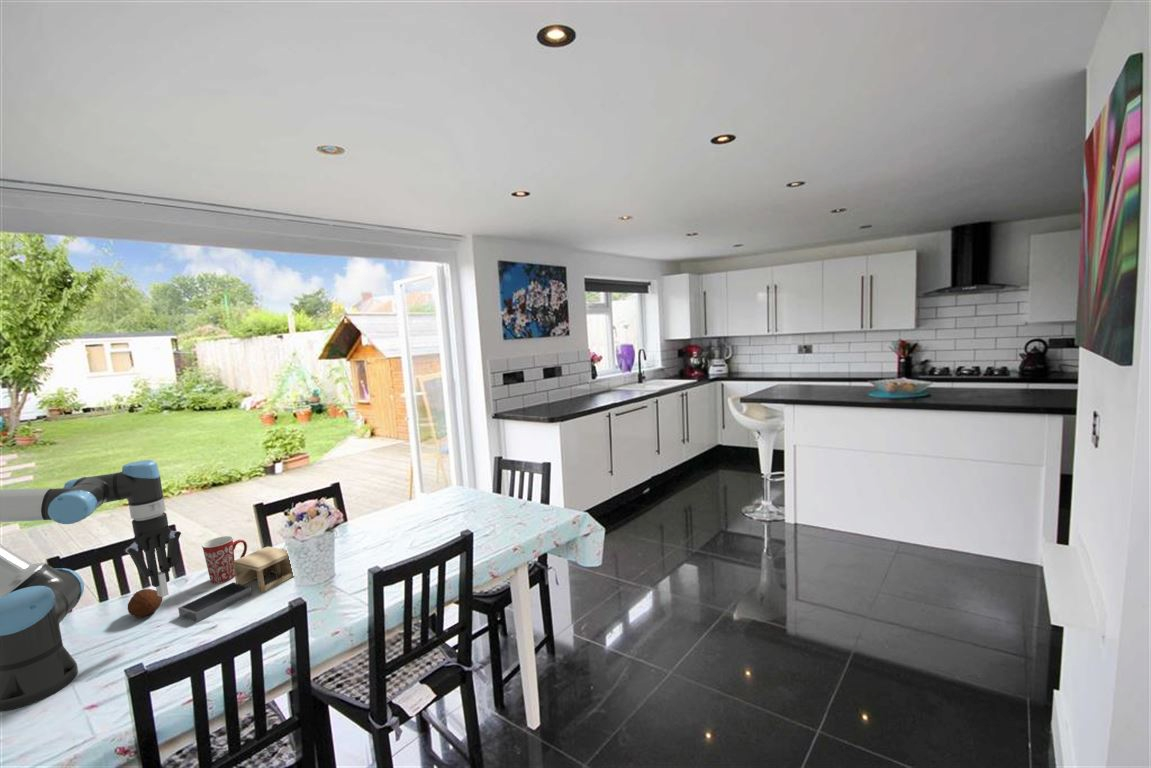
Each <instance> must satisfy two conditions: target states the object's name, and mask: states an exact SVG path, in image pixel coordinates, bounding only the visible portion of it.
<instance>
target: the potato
mask: <svg viewBox="0 0 1151 768" xmlns="http://www.w3.org/2000/svg"><path fill="white" fill-rule="evenodd" d="M163 598H164V597H161V596H158V595H157V590H155V589H151V588H144V589H139V590H138V591H136V592H134V593H133V595H132V597H130V599H129V601H128V605H127V611H128V613H129V614H130V615H131V616H133V617H137V618H139V617H145V616H147V615H151V614H153V613H154V612H156V610H158V608H160V606H161V604H162V602H163V600H164V599H163Z"/></svg>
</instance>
